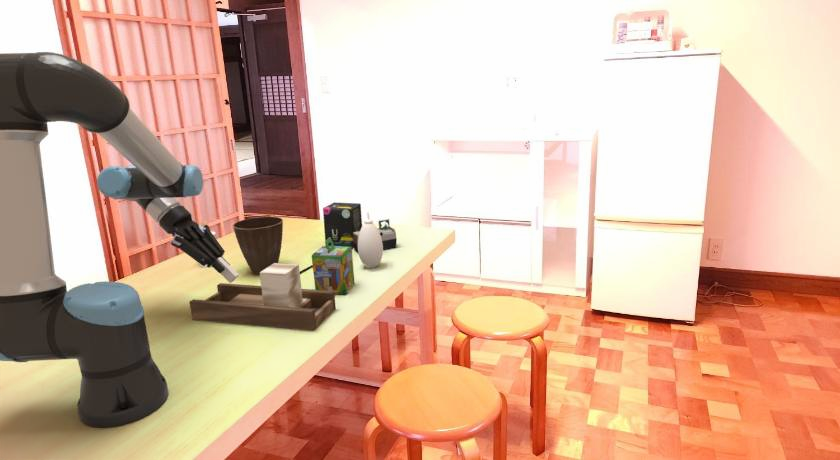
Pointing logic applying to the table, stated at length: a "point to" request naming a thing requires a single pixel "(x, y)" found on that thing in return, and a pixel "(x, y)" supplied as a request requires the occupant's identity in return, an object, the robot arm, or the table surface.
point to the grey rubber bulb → (370, 244)
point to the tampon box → (342, 223)
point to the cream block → (281, 285)
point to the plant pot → (259, 241)
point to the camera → (386, 235)
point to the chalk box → (333, 268)
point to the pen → (306, 269)
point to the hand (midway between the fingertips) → (234, 278)
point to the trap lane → (263, 308)
